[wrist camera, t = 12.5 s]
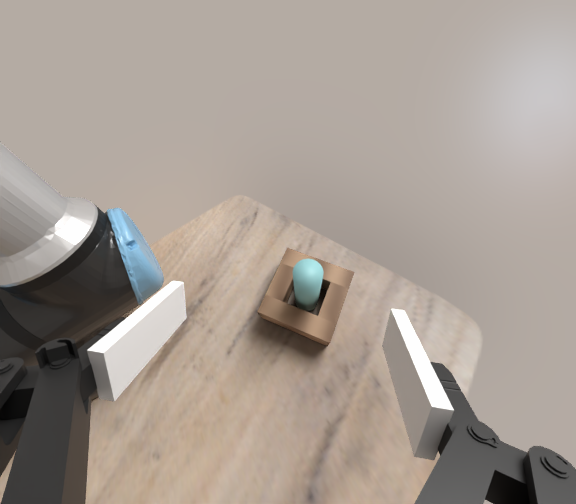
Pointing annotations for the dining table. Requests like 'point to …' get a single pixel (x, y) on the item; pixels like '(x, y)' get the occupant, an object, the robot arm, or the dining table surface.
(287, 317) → the socket block
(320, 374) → the dining table surface
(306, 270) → the dowel
